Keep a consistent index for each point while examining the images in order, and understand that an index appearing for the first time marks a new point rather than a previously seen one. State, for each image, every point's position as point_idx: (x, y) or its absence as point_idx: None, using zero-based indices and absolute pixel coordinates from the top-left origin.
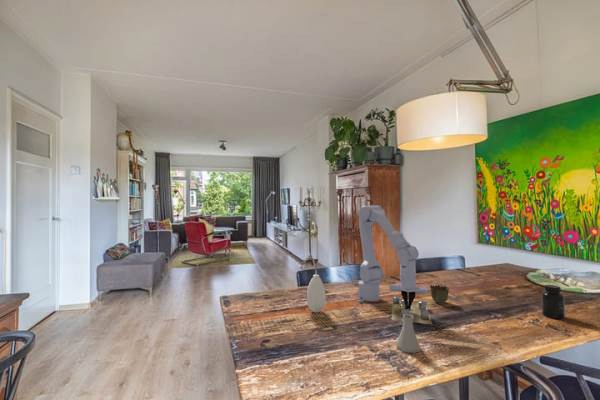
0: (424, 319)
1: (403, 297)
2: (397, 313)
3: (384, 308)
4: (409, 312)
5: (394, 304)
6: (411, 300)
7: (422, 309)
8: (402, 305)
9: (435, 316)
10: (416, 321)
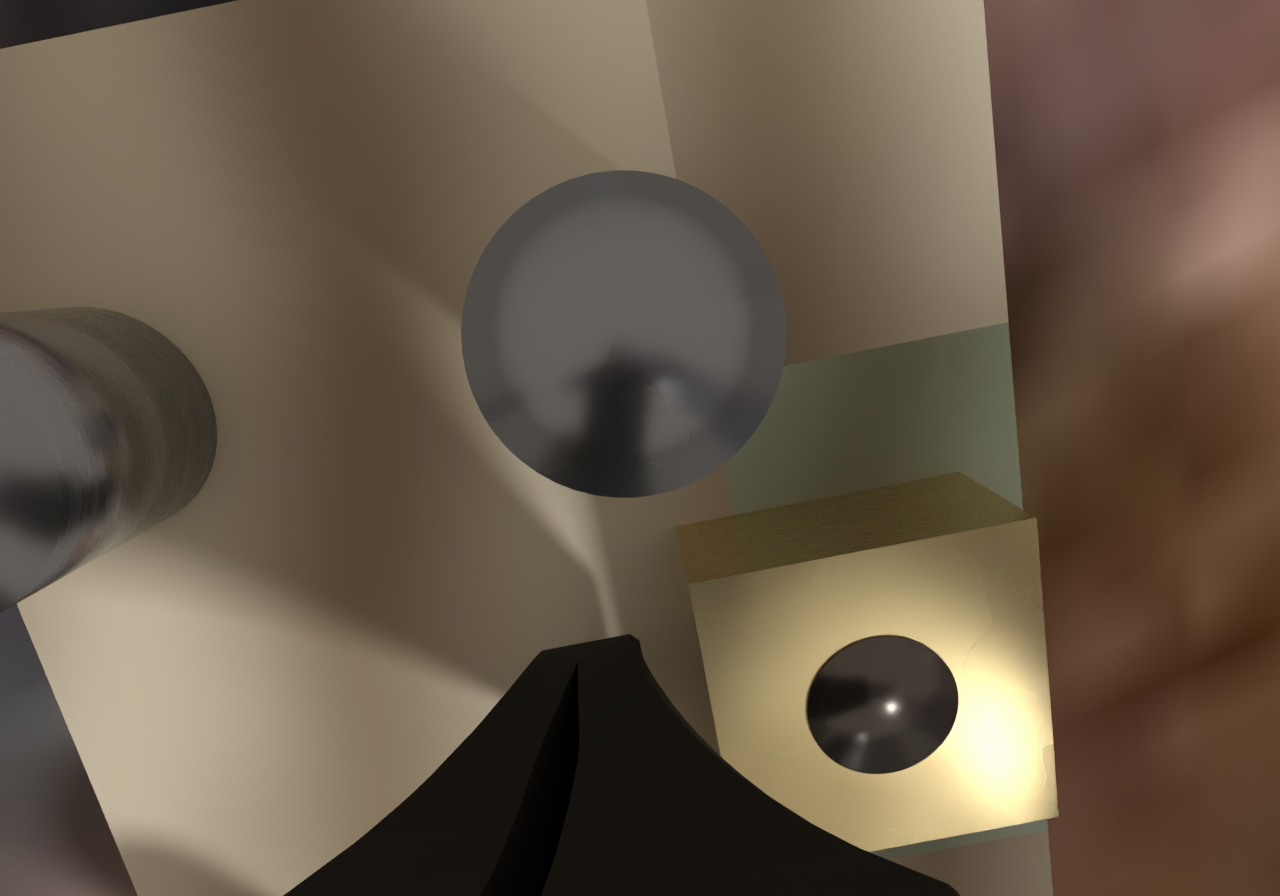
0: (68, 311)
1: (823, 857)
2: (860, 445)
3: (1185, 776)
4: None
5: (1040, 793)
6: (374, 869)
7: (16, 594)
8: None
9: (31, 853)
10: (259, 86)
